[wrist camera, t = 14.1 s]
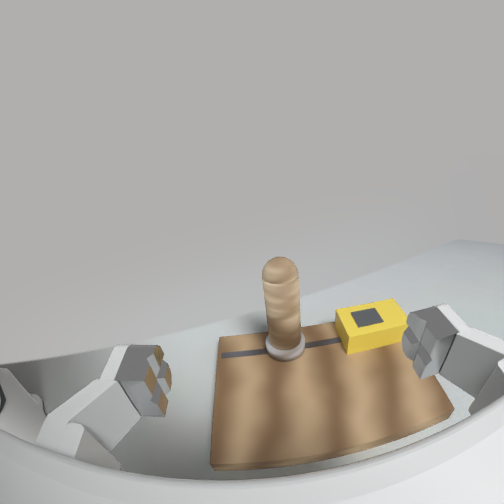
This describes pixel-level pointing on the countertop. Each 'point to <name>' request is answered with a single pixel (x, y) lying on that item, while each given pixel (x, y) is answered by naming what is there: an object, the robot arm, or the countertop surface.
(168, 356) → the countertop surface
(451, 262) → the countertop surface
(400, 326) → the block
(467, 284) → the countertop surface
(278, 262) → the wooden dome-topped peg
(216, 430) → the plywood board
